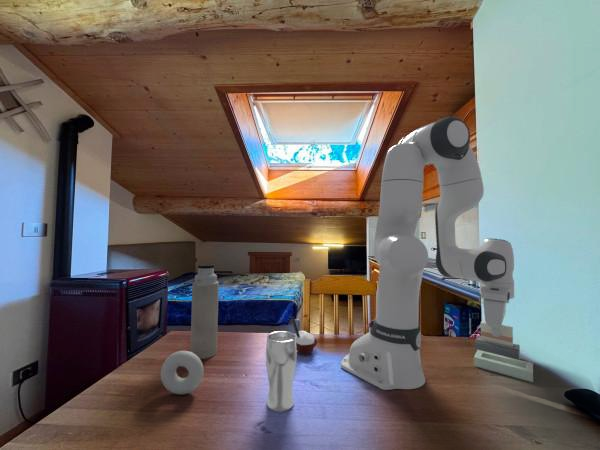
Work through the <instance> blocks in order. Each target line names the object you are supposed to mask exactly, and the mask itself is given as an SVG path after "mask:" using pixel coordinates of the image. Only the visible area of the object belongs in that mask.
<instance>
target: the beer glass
mask: <svg viewBox="0 0 600 450" xmlns="http://www.w3.org/2000/svg"><path fill="white" fill-rule="evenodd" d="M297 355H298V351H297V349H296V333H293V332H291V331H285V330H277V331H273V332H271V333H269V334H267V336H266V347H265V364H266V374H267V379H268V394H267V399H266V406H267V407H268V409H269V410H271V411H273V412H275V413H276V412H277V413H280V412H281V413H283V412H287V411H289V410H291V409H292V408H293V407H294V404H295V400H294V393H293V382H294V378H295V372H296V365H297Z"/></svg>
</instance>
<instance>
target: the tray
mask: <svg viewBox="0 0 600 450" xmlns="http://www.w3.org/2000/svg"><path fill="white" fill-rule="evenodd" d="M473 366H474V367H477V368H480V369H483V370H487V371H491V372H494V373H499V374H501V375H505V376H509V377H513V378H517V379H520V380H523V381H527V382H531V383H534V362H530V361H527V360H526V361H525V360H522V359H520V360H518V359H514V358H510V357H506V356H502V355H497V354H493V353H489V352H485V351H481V350H477V352H476V354H474V356H473Z"/></svg>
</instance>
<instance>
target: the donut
mask: <svg viewBox="0 0 600 450" xmlns="http://www.w3.org/2000/svg"><path fill="white" fill-rule="evenodd" d="M179 367H183V368H185V369H186V370H187V372H188V374H187V375H188V376H186V377H180V376H179V375H178V373H177V369H178V368H179ZM204 372H205V370H204V365H203V362H202V360H201V359H200V358H199V357H198V356H197V355H196V354H194V353H192V352H190V351H188V350H179V351H178V350H177V351H175V352H173V353H171V354H170V355H169V356H168V357H167V358H166V359H165V360H164V362H163V364H162V365H161V368H160V380H161V383H162V384H163V387H165V389H166V391H169V392H170V393H172V394H173V395H186V394H189V393H191V392H194V391H195V390H196V389H197V388H198V387H199V385H201V383H202V380H203V378H204Z"/></svg>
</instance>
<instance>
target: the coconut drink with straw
mask: <svg viewBox="0 0 600 450" xmlns="http://www.w3.org/2000/svg"><path fill="white" fill-rule="evenodd" d="M290 319H291V322H292V325H293V328H294V329H293V330H294V332H295V335H296V349H297V353H299V354H300V355H303V356H308V355H311V353H312V352H313V351H314V348H315V347H316V346H317V343H318V341H317V339H315V335H313V334H311V333H309V332H307V331H306V330H298V326H297V322H296V319H295V317H294V316H292V315H291V316H290Z"/></svg>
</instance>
